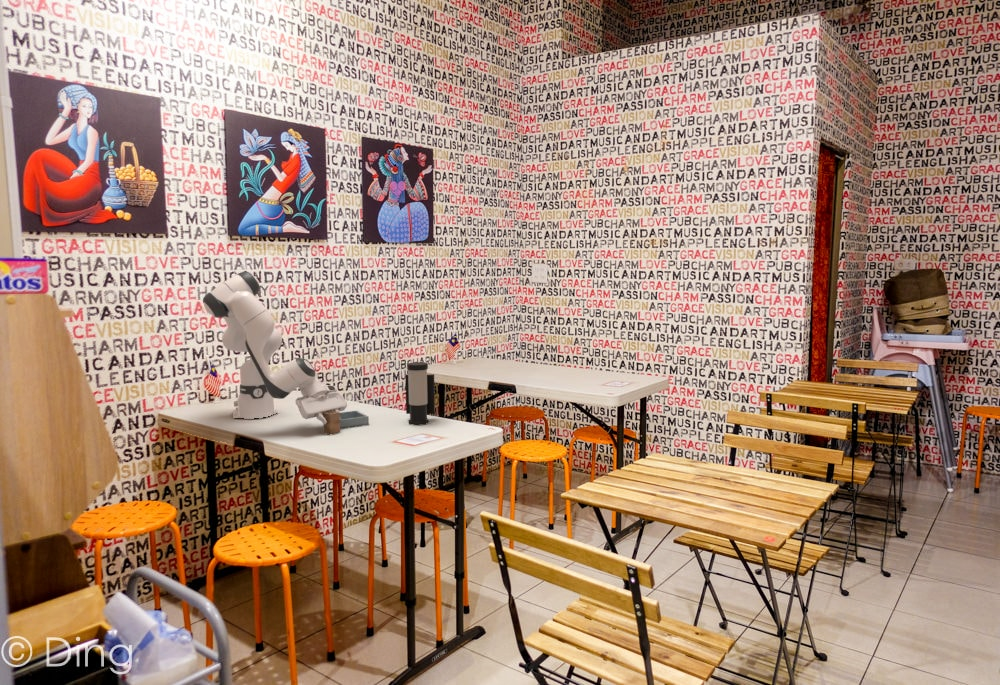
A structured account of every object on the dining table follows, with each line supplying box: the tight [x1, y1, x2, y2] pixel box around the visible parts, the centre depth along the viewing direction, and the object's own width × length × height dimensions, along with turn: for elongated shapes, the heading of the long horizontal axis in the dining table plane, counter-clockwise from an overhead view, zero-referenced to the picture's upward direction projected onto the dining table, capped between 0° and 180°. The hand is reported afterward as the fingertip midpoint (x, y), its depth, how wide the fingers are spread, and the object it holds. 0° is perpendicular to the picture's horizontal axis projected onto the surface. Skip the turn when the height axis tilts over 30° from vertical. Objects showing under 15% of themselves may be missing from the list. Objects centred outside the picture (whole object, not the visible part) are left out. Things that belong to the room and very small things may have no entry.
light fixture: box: [404, 361, 436, 426], centre depth 283 cm, size 12×11×25 cm
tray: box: [340, 410, 370, 430], centre depth 283 cm, size 14×14×4 cm
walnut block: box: [322, 411, 341, 435], centre depth 268 cm, size 4×4×8 cm
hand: (332, 421), depth 268 cm, fingers closed on walnut block, 4 cm apart
